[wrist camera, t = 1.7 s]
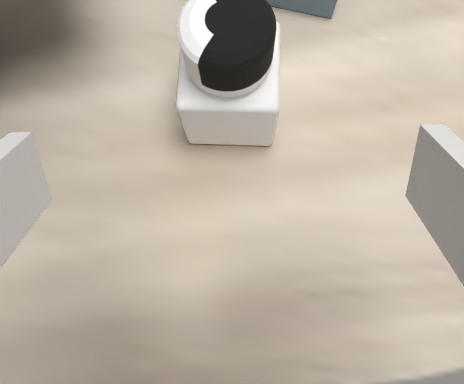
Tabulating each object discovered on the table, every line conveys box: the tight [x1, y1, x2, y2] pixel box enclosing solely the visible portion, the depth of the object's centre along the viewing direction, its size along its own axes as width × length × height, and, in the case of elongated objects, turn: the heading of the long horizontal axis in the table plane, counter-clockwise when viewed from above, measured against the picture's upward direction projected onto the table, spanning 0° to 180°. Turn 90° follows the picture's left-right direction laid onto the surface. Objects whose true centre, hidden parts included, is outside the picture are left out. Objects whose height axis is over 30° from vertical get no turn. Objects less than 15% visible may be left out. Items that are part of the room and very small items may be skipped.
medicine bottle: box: [176, 0, 280, 146], centre depth 31 cm, size 7×7×12 cm
